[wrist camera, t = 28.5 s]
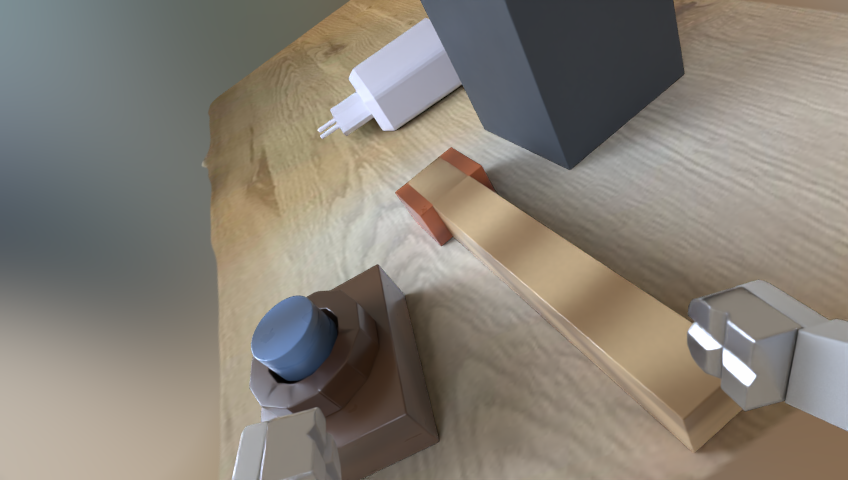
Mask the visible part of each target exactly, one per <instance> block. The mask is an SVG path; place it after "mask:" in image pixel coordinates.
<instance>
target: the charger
mask: <svg viewBox="0 0 848 480" xmlns="http://www.w3.org/2000/svg"><path fill="white" fill-rule="evenodd" d="M349 80H350V82H351V83H352V85H353V86H354V88H355V89H356V92H355V93H353V94H352V95H351V96H349V97H348V98H346V99H345V100H343V101H342V102H340V103H339V104H338V105H336V106H335V107H333V108H332V109H330V111H331V113H332V115H333V117H334V118H333V119H332V120H330V121H329V122H327V123H326V124H324V125H323V126H321V127H320V128H319V129H318V131H319V132H322V131H324V130H325V129H326V128H328V127H329V126H331V125H332V124H334V123H335V122H337V124H336V125H334V126H333V127H332V128H330V129H329V130H327V131H326V132H324V133H323V134H321V138H322V139H324V138H325V137H327V136H328V135H330V134H331V133H332V132H334V131H335V130H337V129H338V128H340V129H341V130H342V132H343V133H344V134H345V135H346V136H348V135H349V134H351V133H352V132H354V131H355V130H357V129H358V128H359V127H361V126H362V125H364V124H365V123H367V122H368V121H370V120H371V119H373V118H375V120H376V121H377V123H378V124H379V126H380V127H381V129H382V130H383V131H395V130H397V129H398V128H400V127H401V126H402V125H404V124H405V123H407V122H408V121H410V120H411V119H413V118H414V117H416V116H417V115H419V114H420V113H421V112H423V111H424V110H426V109H427V108H429V107H430V106H432V105H433V104H435V103H436V102H438V101H439V100H440V99H442V98H443V97H445V96H446V95H448V94H449V93H451V92H452V91H454V90H455V89H457V88H458V87H459V86H461V85H462V83H461V81H460V79H459V77H458V75H457V73H456V71H455V69H454V67H453V65H452V63H451V61H450V59H449V57H448V55H447V53H446V51H445V49H444V47H443V45H442V43H441V41H440V39H439V37H438V35H437V33H436V31H435V29H434V27H433V25H432V23H431V21H430V20H429V19H427V18H425V19H423V20H422V21H420V22H419V23H418V24H416V25H415V26H413V27H412V28H410V29H409V30H408V31H406V32H405V33H403V34H402V35H400V36H399V37H398V38H396V39H395V40H393V41H392V42H390V43H389V44H387V45H386V46H385V47H383V48H382V49H380V50H379V51H377V52H376V53H375V54H373V55H372V56H370V57H369V58H367V59H366V60H365V61H363V62H362V63H360V64H359V65H357V66H356V67H355V68H353V70H352V72H351V74H350V77H349Z"/></svg>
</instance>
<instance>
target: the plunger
mask: <svg viewBox="0 0 848 480" xmlns="http://www.w3.org/2000/svg"><path fill="white" fill-rule="evenodd" d="M336 339H337V328H336V325H335V323H334V322H333V321H332V320H331V319H330V318H329V317H328V316H327V315H326V314H325V313H324V312H323V311H322V310H320V309H319V308H318V307H317V306H316V305H315V304H314V303H313V302H312V301H311V300H310V299H308V298H307V297H304V296H292V297H289V298H287V299H285V300H283V301H281V302H279V303H278V304H277V305H275V306H274V307H273V308H272V309H271V310H270V311H269V312H268V313H267V314H266V315H265V316H264V317H263V318H262V320H261V321H260V323H259V324H258V326H257V328H256V330H255V332H254V334H253V338H252V342H251V350H252V354H253V356H254V357H255V358H256V359H257V360H258V361H260V362H261V363H263V364H264V365H265V366H267V367H268V368H270V369H271V370H272V371H274V372H275V373H277V374H278V375H279V376H281V377H282V378H284V379H285V380H288V381H300V380H303V379H305V378H307V377H308V376H310V375H312V374H313V373H314V372H315V371H316V370H317V369H318V368H319V367H320V366H321V365H322V363H323V362H324V361H325V360H326V359H327V358H328V357H329V356H330V354H331V351H332V349H333V346H334V344H335V342H336Z"/></svg>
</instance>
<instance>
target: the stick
mask: <svg viewBox="0 0 848 480" xmlns="http://www.w3.org/2000/svg"><path fill="white" fill-rule="evenodd" d="M395 193H396V195H397V196H398V198H399V199H400V200H401V202H402V203H403V204H404V206H405V207H406V209H407V210H408V211H409V213H410V214H411V216H412V217H413V218H414V220H415V221H416V222H417V223H418V224H419V225H420V226H421V227H422V228H423V229H424V230H425V231H426V232H427V233H428V234H429V235H430V236H431V237H432V238H433V239H434V240H435V241H436V242H437V243H438V244H440V245H441V246H442V245H444V244H445V243H446V242H447V241H448V240H450V239H451V238H452V237H454V238H455V239H456V240H458V241H459V242H460V243H461V244H462V245H463V246H464V247H465V248H466V249H468V250H469V251H470V252H471V253H472V254H473V255H474V256H475V257H476V258H478V259H479V260H480V261H481V262H482V263H483V264H484V265H485V266H486V267H488V268H489V269H490V270H491V271H492V272H493V273H494V274H495V275H496V276H498V277H499V278H500V279H501V280H502V281H503V282H504V283H505V284H506V285H508V286H509V287H510V288H511V289H512V290H513V291H514V292H515V293H516V294H517V295H519V296H520V297H521V298H522V299H523V300H524V301H525V302H526V303H527V304H529V305H530V306H531V307H532V308H533V309H534V310H535V311H536V312H537V313H539V314H540V315H541V316H542V317H543V318H544V319H545V320H546V321H547V322H549V323H550V324H551V325H552V326H553V327H554V328H555V329H556V330H557V331H559V332H560V333H561V334H562V335H563V336H564V337H565V338H566V339H567V340H569V341H570V342H571V343H572V344H573V345H574V346H575V347H576V348H577V349H579V350H580V351H581V352H582V353H583V354H584V355H585V356H586V357H587V358H589V359H590V360H591V361H592V362H593V363H594V364H595V365H596V366H597V367H599V368H600V369H601V370H602V371H603V372H604V373H605V374H606V375H607V376H609V377H610V378H611V379H612V380H613V381H614V382H615V383H616V384H617V385H619V386H620V387H621V388H622V389H623V390H624V391H625V392H626V393H627V394H629V395H630V396H631V397H632V398H633V399H634V400H635V401H636V402H637V403H639V404H640V405H641V406H642V407H643V408H644V409H645V410H646V411H647V412H649V413H650V414H651V415H652V416H653V417H654V418H655V419H656V420H657V421H659V422H660V423H661V424H662V425H663V426H664V427H665V428H666V429H667V430H669V431H670V432H671V433H672V434H673V435H674V436H675V437H676V438H677V439H679V440H680V441H681V442H682V443H683V444H684V445H685V446H686V447H687V448H689V449H690V450H691V451H692V452H696V451H697V450H698V449H699V448H700V447H702V446H703V445H704V444H705V443H706V442H707V441H708V440H709V439H710V438H711V437H713V436H714V435H715V434H716V433H717V432H718V431H719V430H720V429H721V428H722V427H723V426H725V425H726V424H727V423H728V422H729V421H730V420H731V419H732V418H733V417H734V416H736V415H737V414H738V413H739V412H740V411H741V410H742V408H741V407H740V406H739V405H738V404H737V403H736V402H735V401H734V400H733V399H732V398H730V397H729V396H728V395H727V394H726V393H725V392H724V391H723V390H722V389H721V384H720V379H719V378H717V377H714V376H711V375H709V374H706V373H705V372H704V371H703V370H702V369H701V368H700V367H699V366H698V365H697V364H696V362H695V361H694V359H693V358H692V356H691V354H690V351H689V348H688V345H687V331H688V330H689V328H690V327H691V325H692V324H693V323H692V322H690V321H689V320H687V319H686V318H684V317H683V316H681V315H680V314H678V313H677V312H675V311H673V310H672V309H670V308H669V307H667V306H666V305H664V304H663V303H661V302H660V301H658V300H657V299H655V298H654V297H652V296H651V295H649V294H648V293H646V292H645V291H643V290H642V289H640V288H639V287H637V286H636V285H634V284H633V283H631V282H630V281H628V280H627V279H625V278H624V277H622V276H620V275H619V274H617V273H616V272H614V271H613V270H611V269H610V268H608V267H607V266H605V265H604V264H602V263H601V262H599V261H598V260H596V259H595V258H593V257H592V256H590V255H589V254H587V253H586V252H584V251H583V250H581V249H580V248H578V247H577V246H575V245H574V244H572V243H571V242H569V241H567V240H566V239H564V238H563V237H561V236H560V235H558V234H557V233H555V232H554V231H552V230H551V229H549V228H548V227H546V226H545V225H543V224H542V223H540V222H539V221H537V220H536V219H534V218H533V217H531V216H530V215H528V214H527V213H525V212H524V211H522V210H521V209H519V208H518V207H516V206H514V205H513V204H511V203H510V202H508V201H507V200H505V199H504V198H502V197H501V196H499V195H498V194H497V193H496V191H495V189H494V188H493V186H492V184H491V182H490V180H489V178H488V176H487V174H486V173H485V171H484V169H483V167H482V166H481V165H480V164H478V163H476V162H475V161H473V160H471V159H470V158H468V157H467V156H465V155H463V154H462V153H460V152H458V151H457V150H455V149H453V148H452V147H451V148H449V149H448V150H447V151H446V152H444V153H443V154H442V155H441V156H440V157H438V158H437V159H436V160H435V161H433V162H432V163H431V164H430V165H428V166H427V167H426V168H425V169H423V170H422V171H421V172H420V173H418V174H417V175H416V176H415V177H414V178H412V179H411V180H410V181H409V182H407V183H406V184H405V185H404V186H402V187H401V188H400V189H399V190H397V191H396V192H395Z"/></svg>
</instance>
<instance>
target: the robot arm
mask: <svg viewBox="0 0 848 480" xmlns="http://www.w3.org/2000/svg"><path fill="white" fill-rule="evenodd" d="M688 316H689V317H690V318H691V319H692V320H693V321H694V322H693V324H692V325H691V327H690V328H689V330H688V331H687V345H688V348H689V351H690V354H691V356H692V358H693V359H694V361H695V362H696V364H697V365H698V366H699V367H700V368H701V369H702V370H703V371H704V372H705V373H706V374H709V375H711V376H714V377H717V378H719V379H720V384H721V389H722V390H723V391H724V392H725V393H726V394H727V395H728V396H729V397H730V398H732V399H733V400H734V401H735V402H736V403H737V404H738V405H739V406H740V407H741V408H742V409H743V410H744V411H748V410H752V409H756V408H759V407H763V406H767V405H770V404H774V403H778V402H781V401H785V403H787V404H789V405H791V406H793V407H796V408H798V409H800V410H802V411H805V412H807V413H809V414H811V415H813V416H815V417H817V418H820V419H822V420H824V421H826V422H828V423H830V424H833V425H835V426H837V427H839V428H841V429H844V430H846V431H848V321H845V320H841V319H834V320H828V319H827V318H825V317H823V316H822V315H820V314H819V313H817V312H815V311H814V310H812V309H811V308H809V307H807V306H806V305H804V304H802V303H801V302H799V301H798V300H796V299H794V298H793V297H791V296H789V295H788V294H786V293H785V292H783V291H781V290H780V289H778V288H777V287H775V286H773V285H772V284H770V283H768V282H767V281H763V280H755V281H752V282H749V283H745V284H742V285H739V286H736V287H734V288H730V289H726V290H723V291H720V292H716V293H713V294H709V295H706V296H703V297H699V298H696V299H692V301H691V302H690V304H689V308H688ZM232 480H342V476H341V464H340V458H339V452H338V449H337V445H336V442H335V440H334V437H333V435H332V434H330V433H328V432H326V419H325V416H324V414H323V412H322V410H321V408H318V407H316V408H312V409H308V410H305V411H301V412H297V413H293V414H289V415H286V416H282V417H278V418H274V419H271V420H269V421H265V422H261V423H257V424H253V425H249V426H246V428H245V429H244V430H243V432H242V435H241V439H240V444H239V449H238V453H237V458H236V463H235V467H234V472H233V477H232Z"/></svg>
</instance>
